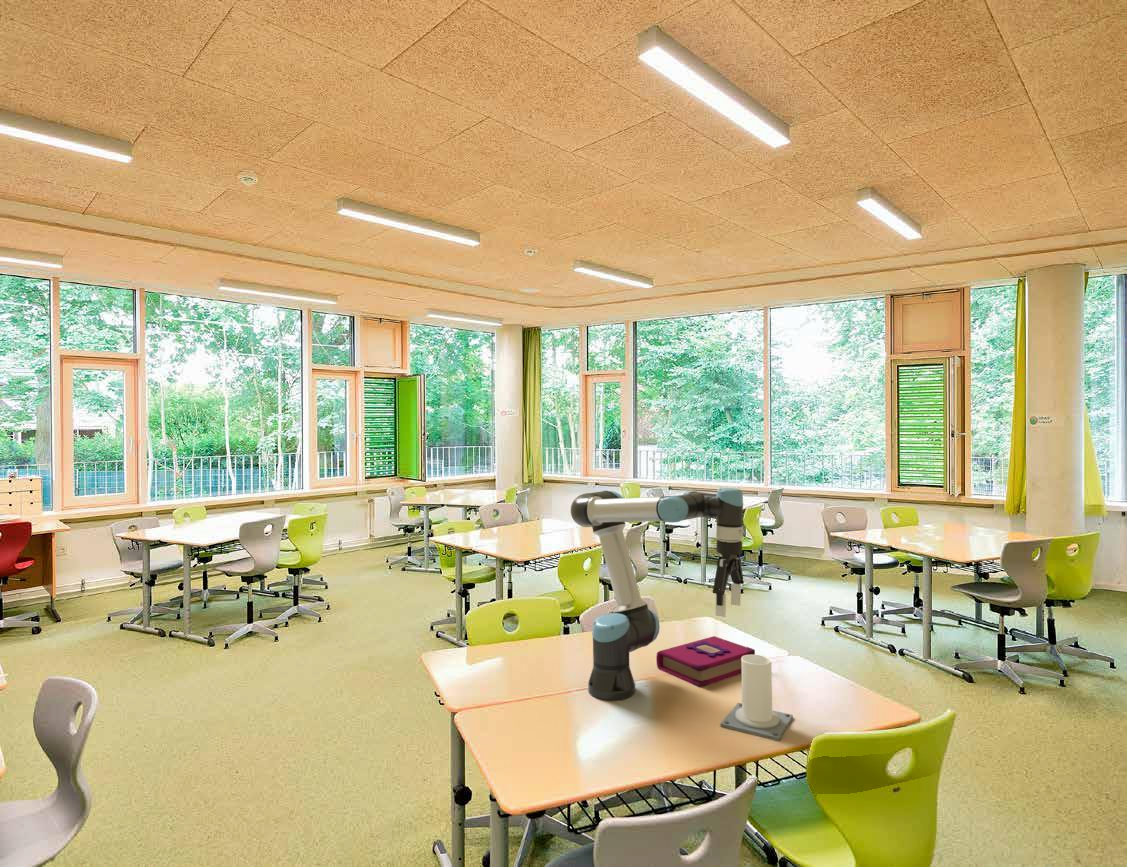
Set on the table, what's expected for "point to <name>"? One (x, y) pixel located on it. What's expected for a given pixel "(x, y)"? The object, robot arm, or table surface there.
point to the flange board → (758, 723)
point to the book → (703, 660)
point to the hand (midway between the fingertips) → (728, 610)
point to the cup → (756, 688)
